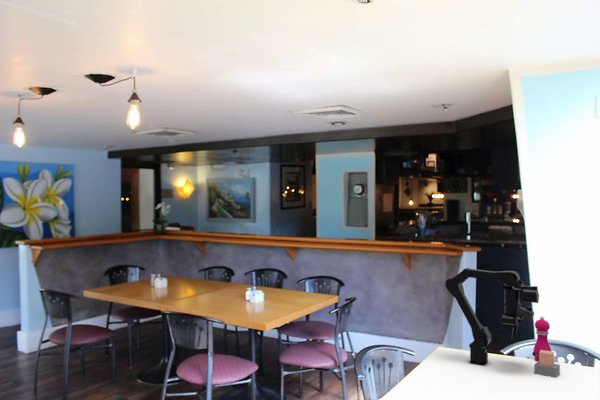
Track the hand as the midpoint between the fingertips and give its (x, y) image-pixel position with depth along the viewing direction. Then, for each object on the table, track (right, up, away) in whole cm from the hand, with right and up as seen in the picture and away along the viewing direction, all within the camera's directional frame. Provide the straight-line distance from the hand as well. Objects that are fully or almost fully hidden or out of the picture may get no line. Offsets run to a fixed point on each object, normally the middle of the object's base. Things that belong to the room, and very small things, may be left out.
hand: (512, 337), depth 201 cm
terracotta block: (+11, -9, -7) cm, 16 cm away
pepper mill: (+19, -14, +11) cm, 26 cm away
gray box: (+11, -13, -7) cm, 19 cm away
